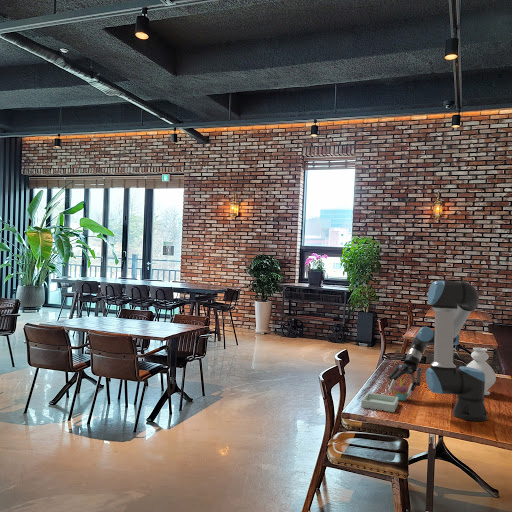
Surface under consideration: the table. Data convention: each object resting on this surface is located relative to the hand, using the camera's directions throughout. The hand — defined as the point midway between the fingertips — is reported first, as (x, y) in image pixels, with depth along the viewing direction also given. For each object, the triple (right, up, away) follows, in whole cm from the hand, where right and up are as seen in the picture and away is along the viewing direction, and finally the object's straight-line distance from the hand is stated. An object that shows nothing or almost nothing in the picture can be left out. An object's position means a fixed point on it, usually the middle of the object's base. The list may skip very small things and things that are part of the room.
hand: (398, 392), depth 269 cm
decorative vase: (+53, -7, +25) cm, 59 cm away
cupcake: (+2, -4, +2) cm, 5 cm away
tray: (-13, -3, -11) cm, 17 cm away
